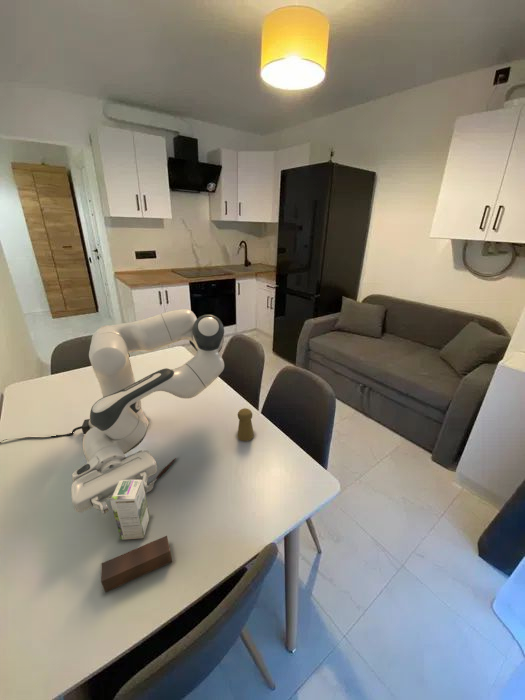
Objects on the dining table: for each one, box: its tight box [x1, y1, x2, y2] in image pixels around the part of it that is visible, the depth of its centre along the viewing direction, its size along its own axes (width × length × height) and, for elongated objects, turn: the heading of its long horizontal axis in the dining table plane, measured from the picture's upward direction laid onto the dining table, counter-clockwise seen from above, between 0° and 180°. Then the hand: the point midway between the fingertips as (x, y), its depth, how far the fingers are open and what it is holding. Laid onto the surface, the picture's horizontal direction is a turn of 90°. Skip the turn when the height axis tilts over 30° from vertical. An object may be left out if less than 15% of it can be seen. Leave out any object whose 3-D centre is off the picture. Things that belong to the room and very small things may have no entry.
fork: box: [145, 457, 177, 494], centre depth 89 cm, size 3×16×2 cm, turn 156°
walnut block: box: [100, 535, 173, 593], centre depth 66 cm, size 14×4×4 cm, turn 116°
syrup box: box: [109, 480, 151, 541], centre depth 72 cm, size 6×6×14 cm
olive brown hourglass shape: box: [237, 407, 255, 442], centre depth 104 cm, size 6×6×11 cm
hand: (125, 499), depth 71 cm, fingers open, 8 cm apart
